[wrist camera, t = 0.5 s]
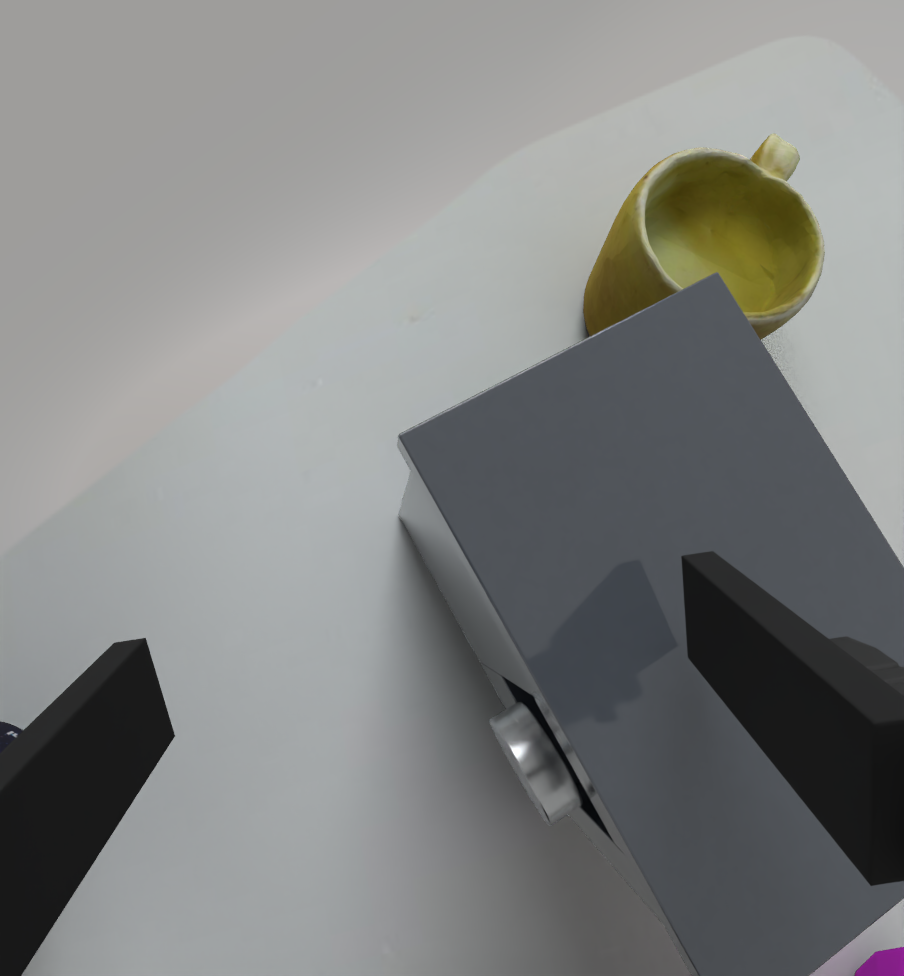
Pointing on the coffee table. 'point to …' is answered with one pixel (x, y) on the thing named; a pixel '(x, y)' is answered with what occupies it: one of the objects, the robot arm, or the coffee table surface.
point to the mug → (711, 237)
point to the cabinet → (661, 607)
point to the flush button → (536, 762)
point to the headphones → (884, 964)
